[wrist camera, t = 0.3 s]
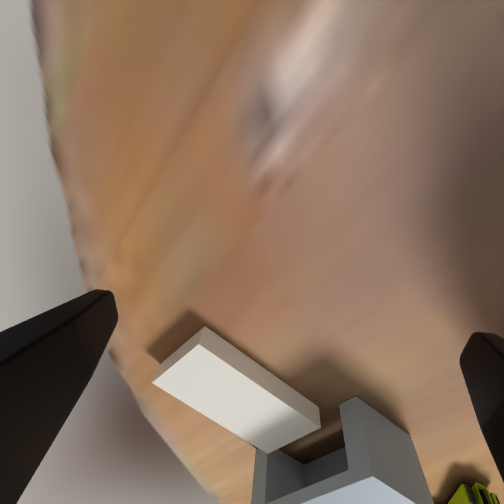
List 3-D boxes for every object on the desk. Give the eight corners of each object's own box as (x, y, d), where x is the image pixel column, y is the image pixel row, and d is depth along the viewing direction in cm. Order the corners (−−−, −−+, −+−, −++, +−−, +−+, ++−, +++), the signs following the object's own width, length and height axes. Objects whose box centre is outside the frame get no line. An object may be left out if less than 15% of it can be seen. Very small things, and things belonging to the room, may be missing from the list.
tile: (318, 402, 30) (320, 427, 27) (268, 429, 33) (267, 453, 30) (206, 322, 26) (198, 344, 24) (162, 360, 29) (151, 382, 27)
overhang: (410, 435, 30) (439, 518, 24) (307, 479, 36) (310, 553, 30) (355, 395, 28) (372, 476, 22) (255, 449, 34) (249, 523, 28)
